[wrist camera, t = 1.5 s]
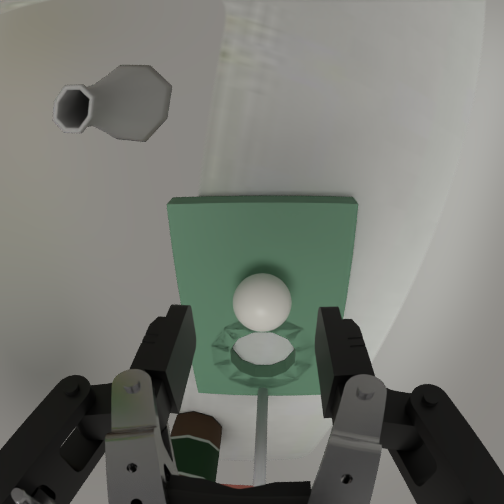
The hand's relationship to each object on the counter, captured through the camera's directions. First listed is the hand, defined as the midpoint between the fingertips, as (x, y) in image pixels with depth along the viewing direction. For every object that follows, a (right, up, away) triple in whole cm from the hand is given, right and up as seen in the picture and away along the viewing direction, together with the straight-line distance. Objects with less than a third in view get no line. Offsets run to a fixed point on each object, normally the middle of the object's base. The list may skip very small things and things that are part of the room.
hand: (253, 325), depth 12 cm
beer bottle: (-8, -24, +32) cm, 40 cm away
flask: (-10, +16, +12) cm, 23 cm away
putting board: (+1, -3, +21) cm, 21 cm away
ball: (+1, -1, +15) cm, 15 cm away
